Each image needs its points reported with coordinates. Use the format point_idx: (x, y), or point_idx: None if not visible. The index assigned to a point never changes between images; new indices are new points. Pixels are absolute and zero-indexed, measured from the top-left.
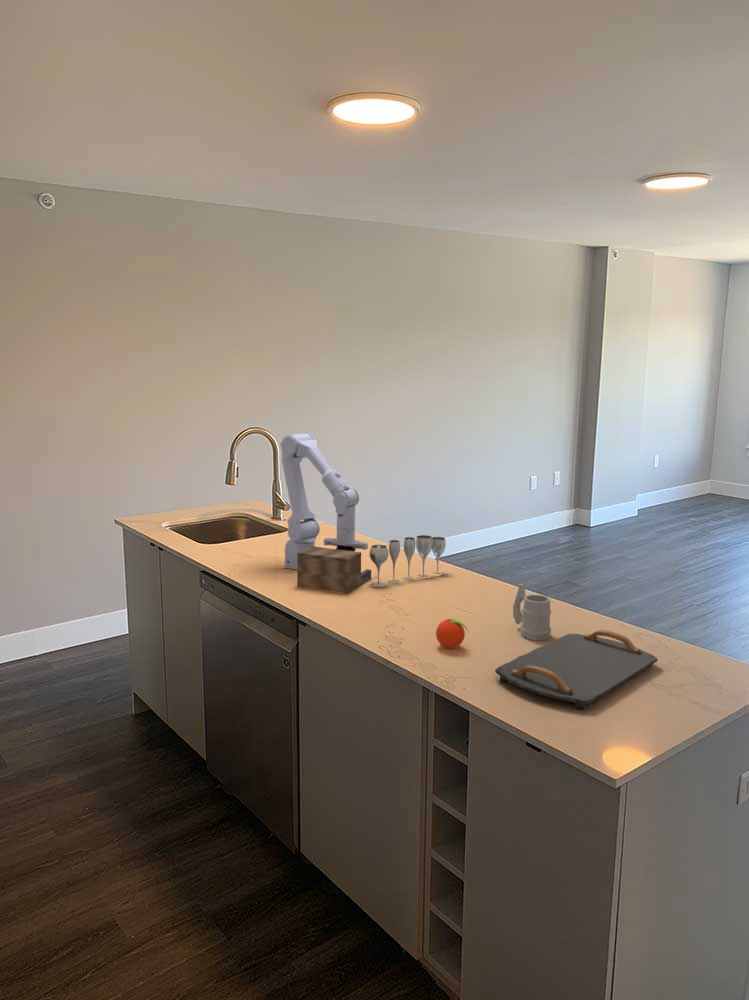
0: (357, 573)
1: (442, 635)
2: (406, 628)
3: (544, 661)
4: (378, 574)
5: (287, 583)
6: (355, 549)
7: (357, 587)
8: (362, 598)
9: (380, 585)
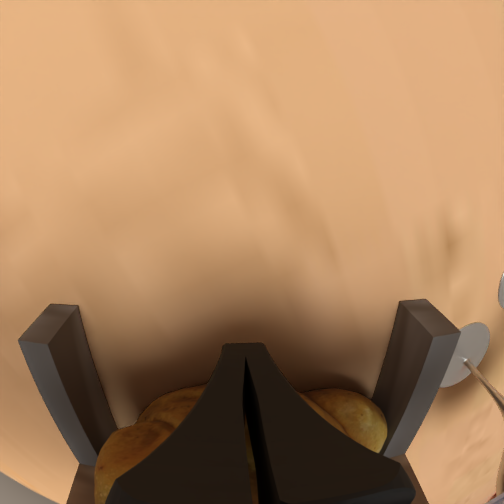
0: None
1: None
2: (472, 497)
3: None
4: (489, 391)
5: (75, 474)
6: (397, 467)
7: None
8: None
9: (469, 371)
